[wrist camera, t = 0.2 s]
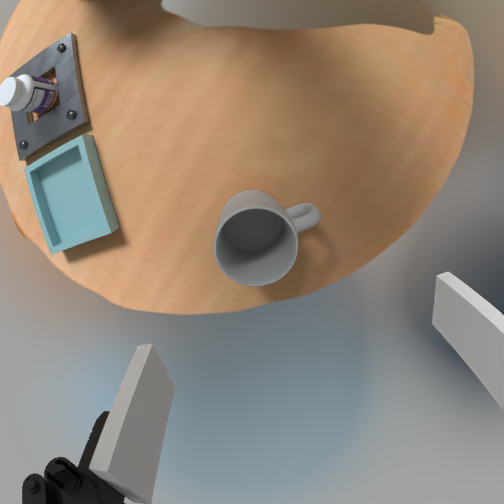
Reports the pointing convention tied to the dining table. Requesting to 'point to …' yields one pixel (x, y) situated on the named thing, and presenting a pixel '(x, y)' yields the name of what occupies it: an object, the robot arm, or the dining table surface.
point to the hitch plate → (70, 95)
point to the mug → (260, 237)
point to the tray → (71, 195)
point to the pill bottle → (28, 94)
